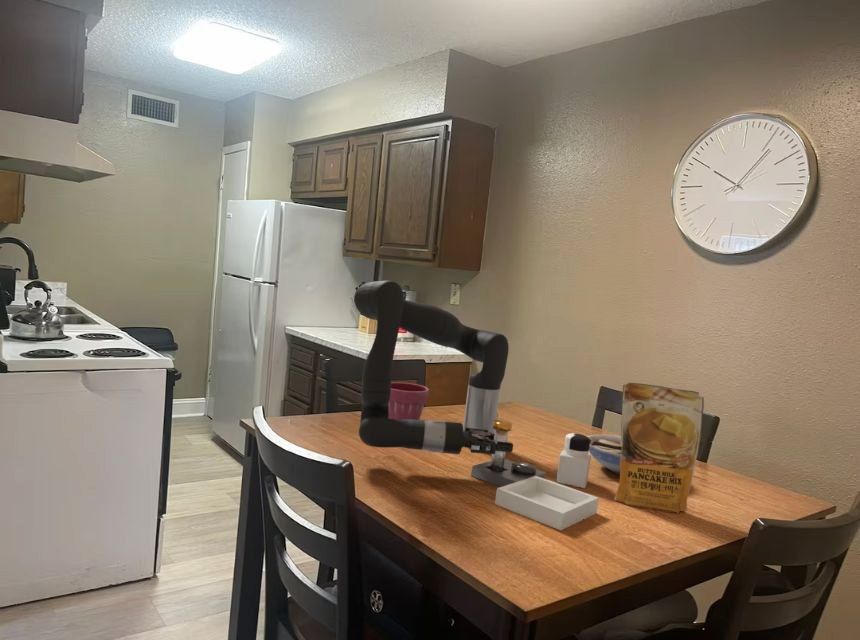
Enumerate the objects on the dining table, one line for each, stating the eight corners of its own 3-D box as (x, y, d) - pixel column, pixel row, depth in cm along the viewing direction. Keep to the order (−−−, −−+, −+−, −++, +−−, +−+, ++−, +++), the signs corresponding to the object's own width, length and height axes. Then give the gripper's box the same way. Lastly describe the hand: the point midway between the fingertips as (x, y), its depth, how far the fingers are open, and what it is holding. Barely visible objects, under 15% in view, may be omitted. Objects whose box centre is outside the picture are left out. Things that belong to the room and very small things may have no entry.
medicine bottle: (587, 480, 157) (593, 435, 156) (585, 489, 150) (591, 441, 149) (559, 475, 159) (565, 429, 158) (555, 482, 152) (562, 435, 152)
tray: (533, 490, 145) (535, 475, 144) (596, 513, 134) (598, 497, 134) (494, 504, 133) (496, 488, 132) (560, 530, 122) (562, 513, 122)
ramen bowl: (674, 472, 174) (678, 444, 173) (669, 495, 153) (673, 463, 153) (585, 453, 184) (589, 426, 184) (569, 471, 163) (573, 441, 163)
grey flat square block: (501, 467, 160) (503, 452, 159) (544, 482, 151) (546, 466, 151) (471, 475, 150) (473, 459, 150) (515, 492, 141) (518, 475, 141)
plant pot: (369, 424, 188) (373, 383, 187) (397, 419, 199) (401, 380, 198) (406, 436, 180) (411, 393, 179) (433, 429, 191) (438, 389, 190)
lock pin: (493, 474, 153) (500, 419, 152) (508, 479, 150) (515, 423, 149) (482, 477, 150) (489, 421, 149) (497, 483, 147) (505, 425, 146)
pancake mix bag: (605, 493, 149) (621, 379, 147) (687, 506, 146) (704, 390, 144) (609, 503, 142) (626, 383, 140) (695, 517, 139) (713, 395, 137)
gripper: (446, 429, 141) (517, 436, 142) (441, 414, 155) (506, 421, 156) (442, 461, 141) (513, 467, 143) (437, 443, 156) (502, 450, 157)
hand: (509, 443), depth 150 cm, fingers open, 6 cm apart
